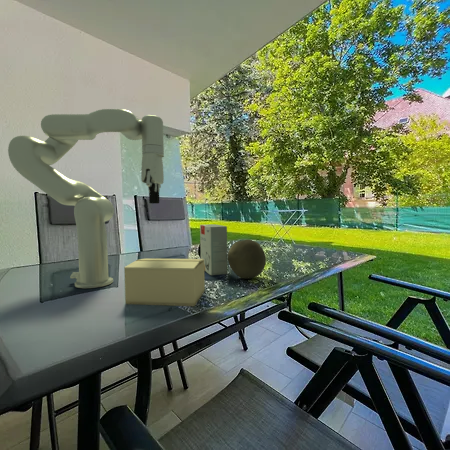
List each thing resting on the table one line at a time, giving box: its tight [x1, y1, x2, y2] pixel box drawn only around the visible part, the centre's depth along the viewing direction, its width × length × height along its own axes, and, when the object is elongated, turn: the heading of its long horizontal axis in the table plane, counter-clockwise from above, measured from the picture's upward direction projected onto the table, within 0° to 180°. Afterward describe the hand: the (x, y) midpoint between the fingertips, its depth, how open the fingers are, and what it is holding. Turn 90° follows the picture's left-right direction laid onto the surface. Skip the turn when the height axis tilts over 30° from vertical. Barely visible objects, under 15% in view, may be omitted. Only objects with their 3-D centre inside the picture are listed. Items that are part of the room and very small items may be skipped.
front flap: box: [124, 260, 199, 270], centre depth 78 cm, size 20×7×1 cm, turn 83°
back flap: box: [135, 258, 204, 262], centre depth 85 cm, size 20×7×1 cm, turn 83°
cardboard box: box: [124, 261, 206, 307], centre depth 82 cm, size 20×14×10 cm
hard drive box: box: [199, 223, 228, 276], centre depth 117 cm, size 16×8×20 cm, turn 21°
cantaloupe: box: [227, 239, 267, 280], centre depth 102 cm, size 14×14×15 cm
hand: (154, 203), depth 98 cm, fingers closed
